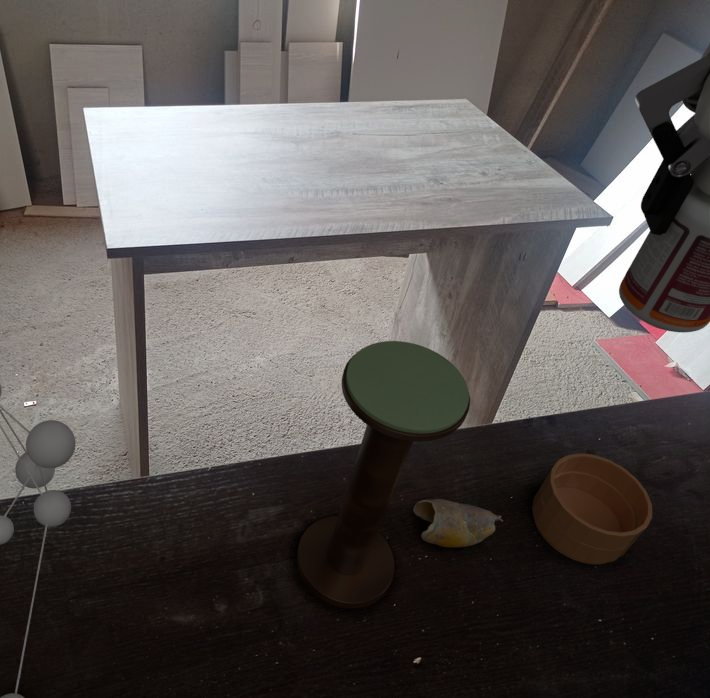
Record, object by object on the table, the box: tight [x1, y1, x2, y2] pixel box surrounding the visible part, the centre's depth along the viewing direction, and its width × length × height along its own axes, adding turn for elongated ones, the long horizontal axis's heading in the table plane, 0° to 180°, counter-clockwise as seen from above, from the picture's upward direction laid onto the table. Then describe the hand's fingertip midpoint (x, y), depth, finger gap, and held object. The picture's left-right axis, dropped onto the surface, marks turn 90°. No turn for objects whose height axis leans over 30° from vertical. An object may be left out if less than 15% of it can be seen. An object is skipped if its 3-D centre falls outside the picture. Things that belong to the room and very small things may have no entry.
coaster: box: [346, 340, 470, 434], centre depth 50 cm, size 9×9×1 cm
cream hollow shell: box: [412, 498, 504, 548], centre depth 69 cm, size 8×4×5 cm, turn 103°
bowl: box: [531, 452, 653, 565], centre depth 71 cm, size 9×9×6 cm
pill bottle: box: [618, 156, 710, 333], centre depth 47 cm, size 6×6×11 cm
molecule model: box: [0, 384, 76, 698], centre depth 57 cm, size 14×25×18 cm, turn 172°
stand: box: [296, 354, 471, 609], centre depth 59 cm, size 9×9×24 cm
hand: (708, 231), depth 46 cm, fingers closed on pill bottle, 6 cm apart
